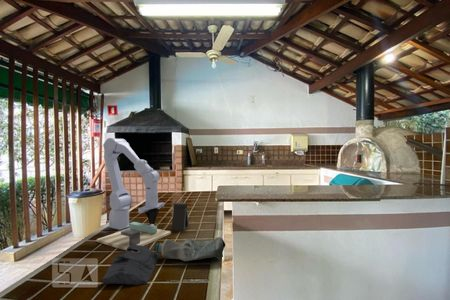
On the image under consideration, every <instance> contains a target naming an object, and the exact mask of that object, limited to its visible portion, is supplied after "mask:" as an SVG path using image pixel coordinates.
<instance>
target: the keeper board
mask: <svg viewBox="0 0 450 300" xmlns="http://www.w3.org/2000/svg"><path fill="white" fill-rule="evenodd" d="M171 234H172V231H169V230H165V229H159V228H157V232H156V233H154V234H148V233H146V232H142V231H137V230H133V229H129V227H127V228H124V229H121V230H118V231H116V232H114V233H111V234H108V235H105V236H102V237H99V238H97V239H96V242H97V243H99V244H104V245H106V246H109V247H113V248H116V249H120V250H122V251H127V248H128V247H129V245H130V244H135V245H140V246H147V245H149V244H151V243H153V242H155V241H158V240H160V239H162V238H164V237H167V236H170V235H171Z"/></svg>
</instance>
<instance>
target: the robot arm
mask: <svg viewBox="0 0 450 300" xmlns="http://www.w3.org/2000/svg"><path fill="white" fill-rule="evenodd" d="M103 149H104V150H103V151H104V153H103V157H104V163H105V167H106V169H107V170H106V171H107V175H108V179H109V183H110V187H111V190H112V192H110V194H109V197H108V198H109V206H110V208H111V210H110V211H109V215H108V216H109V217H108V221H109V222H108V224H109V225H107V228H110V229H114V230H118V231H122V230H125V229H128V228H129V223H130V207H131V206H130V205H131V204H132V202H133V198H132V196H131V195H130V192H129V190H128V189H126V188H125V186H124V182H123V178H122V173H121V170H120V166H119V162H118V157H119V155H120V154H124V156H125V157H127V158H128V159H129V160H130V162H131V163H133V167H134V169H135V171H137V173H139V175H140V176H141V177H142V182H143V183H144V186H145V187H144V189H145V190H144V192H145V193H144V194H145V196H144V197H145V205H143V206H142V207H138V211H137V212H138V214H143V213H144V214H145V215H146V218H147V220H148V222H149V223H148V225H150V224H154V226H156V224H155V223H156V219H157V216H158V215H159V213H160V208H163V207H164V208H165V202H163V201H162V202H159V189H158V187H159V185H158V184H159V183H158V182H159V180H160V178H161V175H160V173H159V171H158V170H154V168H153V167H151V166H150V165H149V164H148V161H147V160H145V159H140V158H139V157H138V155H137V154H136V152H135V151H134V150H133V149H132V147H131V146H130V143H129V142H127V140H126V139H124V138H113V137H108V138H106V140H104V143H103Z"/></svg>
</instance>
